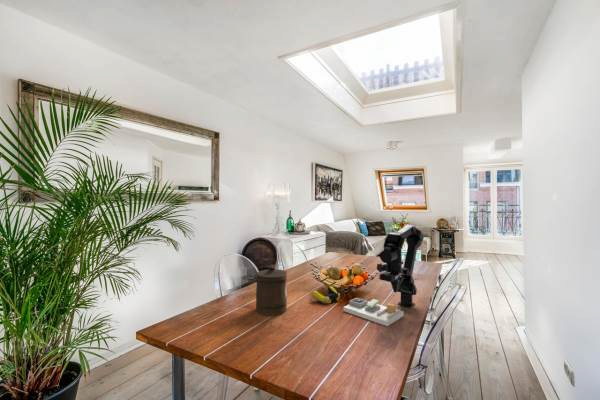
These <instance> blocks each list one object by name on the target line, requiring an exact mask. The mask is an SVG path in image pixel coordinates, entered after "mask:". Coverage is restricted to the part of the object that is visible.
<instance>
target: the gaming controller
mask: <svg viewBox="0 0 600 400" xmlns="http://www.w3.org/2000/svg"><path fill="white" fill-rule="evenodd" d="M340 295H341V293H340V292H337V290H336V288H334V287H333V286H328V287H327V294H325V295H323V294H321V293H319V292H318V291H317V290H314V291H313V292H312V297H313V298H314V299H315V300H317V301H319V302H320V303H322V304H324V305H325V304H326V305H327V304H332V303H335V302H339V301H340V299H341V297H340Z"/></svg>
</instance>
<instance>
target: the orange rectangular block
mask: <svg viewBox="0 0 600 400" xmlns="http://www.w3.org/2000/svg"><path fill="white" fill-rule="evenodd" d="M386 307H387V311H388V312H391V313H393V312H395V311H396V310H397V305H396V304H393V303H390V302H389V303H387V304H386Z"/></svg>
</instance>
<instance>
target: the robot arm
mask: <svg viewBox="0 0 600 400" xmlns="http://www.w3.org/2000/svg"><path fill="white" fill-rule="evenodd" d="M424 238H425V237H424V233H423V231H421V230H420V229H418V228H416V226H415V225H411V224H406V225H404V226H403V227H401V228H400V229H399V230H398V231H391V232H388V233H387V235H386V236H385V240H384V243H383V246H382V247H383V250H382V251H380V254H379V258H380V261H381V262H383V263H378V264H376V270H377V271H378V273H380V274H379V277H378V279H379V280H381V281H385V282H389V283H390V284H391V288H392V291H393V292H394V293H400V302H397V305H399V306H403V307H407V308H412V307H414V306H415V305H416V303H415V302H413V296H415V295H417V289H418V288H417V287H416V284H415V280H414V277H413V273H414V266H415V263H416V257H417V251H418V249H419V248H420V247H421V246H422V244H423V241H424ZM405 242H406V244H407V249H406V253H405V258H404V261H402V260H403V259H402V255H403V254H402V253H403V252H402V250H403V246H404V243H405ZM402 265H403V267H402Z"/></svg>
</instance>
